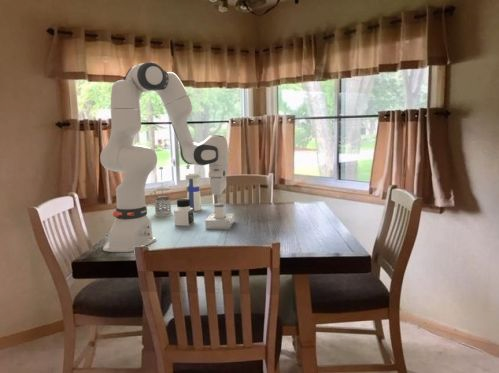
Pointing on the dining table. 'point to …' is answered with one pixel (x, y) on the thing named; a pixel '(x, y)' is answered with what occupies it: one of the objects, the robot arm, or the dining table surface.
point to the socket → (219, 221)
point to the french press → (166, 200)
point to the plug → (220, 210)
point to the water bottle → (193, 190)
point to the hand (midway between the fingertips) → (219, 200)
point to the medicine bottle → (183, 213)
